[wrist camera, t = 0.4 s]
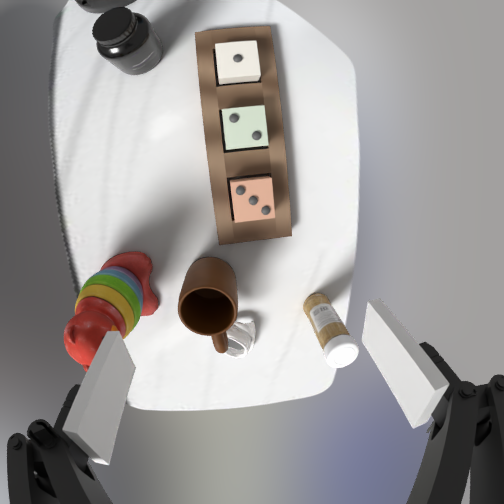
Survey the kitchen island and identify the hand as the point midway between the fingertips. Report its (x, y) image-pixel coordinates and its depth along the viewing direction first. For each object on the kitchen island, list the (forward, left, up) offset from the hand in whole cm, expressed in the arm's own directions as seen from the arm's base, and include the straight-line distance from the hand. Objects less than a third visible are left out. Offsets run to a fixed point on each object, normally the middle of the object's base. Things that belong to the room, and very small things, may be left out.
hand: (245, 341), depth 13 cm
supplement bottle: (-26, -10, -27) cm, 39 cm away
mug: (+11, -4, -27) cm, 30 cm away
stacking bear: (+8, -18, -27) cm, 34 cm away
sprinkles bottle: (+16, +12, -27) cm, 34 cm away
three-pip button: (-3, +3, -25) cm, 25 cm away
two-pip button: (-12, +3, -25) cm, 28 cm away
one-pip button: (-21, +3, -25) cm, 33 cm away
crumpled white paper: (+20, -2, -27) cm, 34 cm away
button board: (-12, +3, -27) cm, 29 cm away
